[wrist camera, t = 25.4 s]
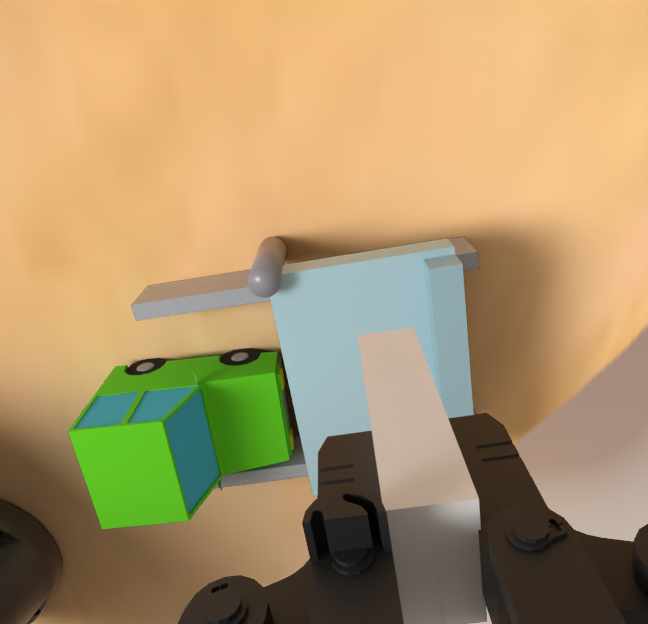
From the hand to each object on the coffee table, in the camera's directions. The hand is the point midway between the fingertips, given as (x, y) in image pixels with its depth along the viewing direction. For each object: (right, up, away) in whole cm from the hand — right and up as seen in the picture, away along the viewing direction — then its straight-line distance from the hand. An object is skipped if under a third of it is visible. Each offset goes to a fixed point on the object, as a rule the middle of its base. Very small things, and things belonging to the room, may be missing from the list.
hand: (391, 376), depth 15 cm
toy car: (-11, -5, +31) cm, 33 cm away
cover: (+1, 0, +28) cm, 28 cm away
